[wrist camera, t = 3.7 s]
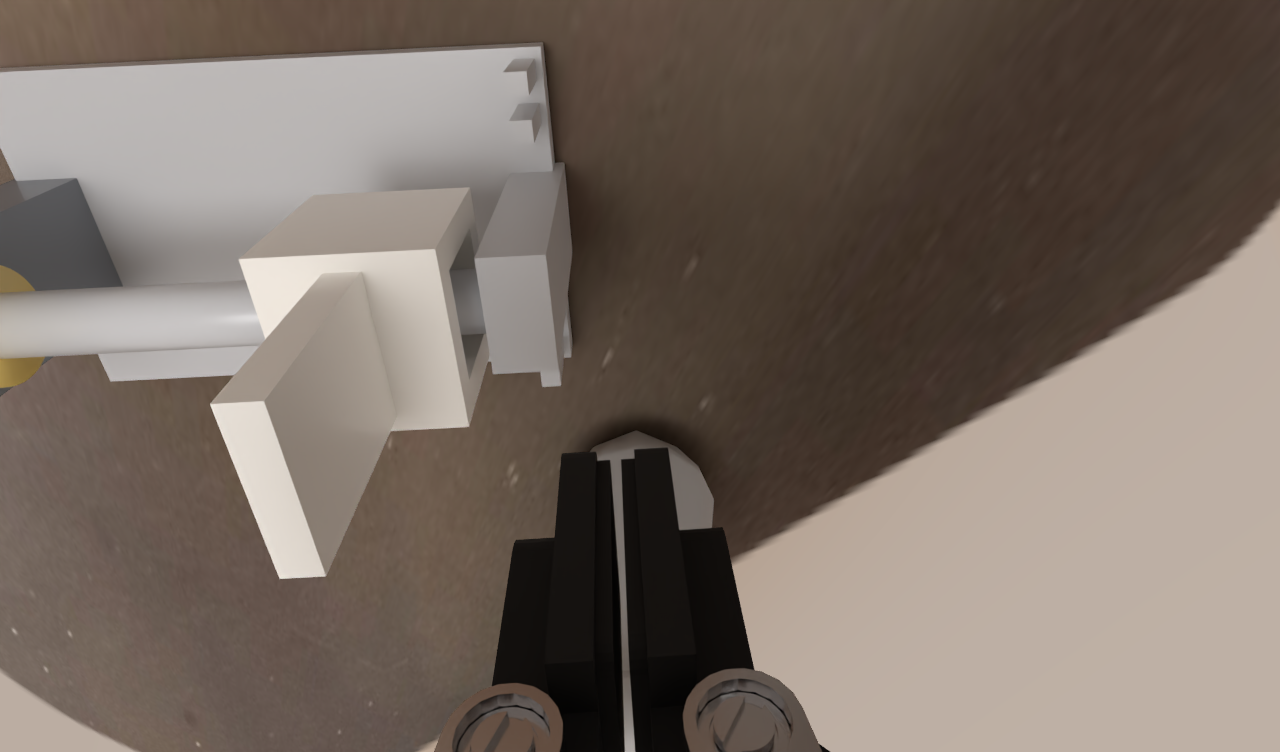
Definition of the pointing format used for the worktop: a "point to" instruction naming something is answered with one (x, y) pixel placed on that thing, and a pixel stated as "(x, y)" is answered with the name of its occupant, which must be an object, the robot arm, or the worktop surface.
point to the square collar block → (347, 357)
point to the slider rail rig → (264, 196)
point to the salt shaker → (691, 513)
